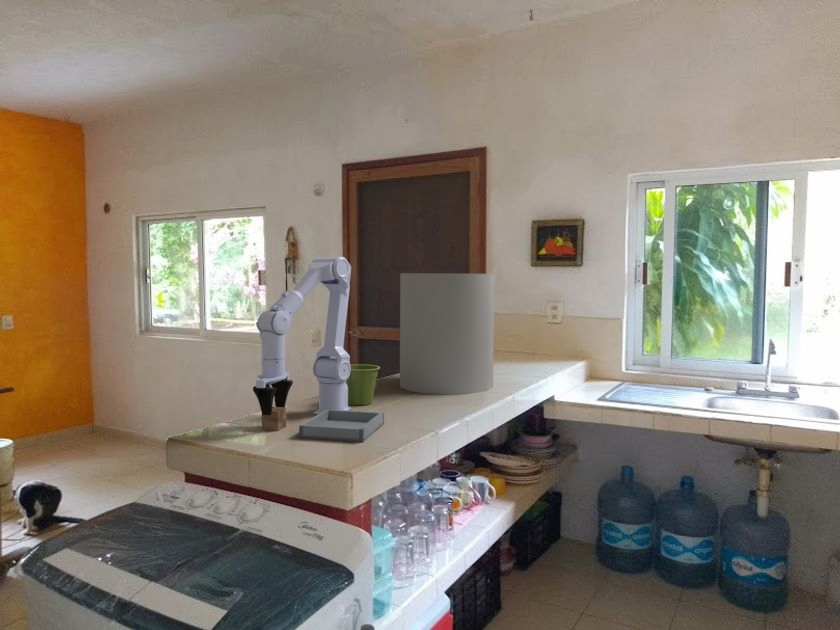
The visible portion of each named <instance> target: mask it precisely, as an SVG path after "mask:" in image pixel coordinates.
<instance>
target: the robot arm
mask: <svg viewBox="0 0 840 630" xmlns="http://www.w3.org/2000/svg"><path fill="white" fill-rule="evenodd" d="M351 272H352V266H351V264H350V263H349V261H348V260H347V258H345V257H344V256H338V257H337V256H336V257H335V256H334V257H325V256H324V257H322V256H317V257H315V258H314V259H312V261H311V262H310V263H309V264H308V269H307V271H306V272H305V273H304V275H303V276H302V277H301V278H300V280H299V281H298V283H297V284H296V286H295V287H294V288H293V289H292V290H291V289H290V290H288V289H287V290H286V291H282V292H281V293H280V297H279V298H278V300H277V301H275V302H274V304H272V305H271V306H270V309H269V310H265V311H262V313H261V314H260V315H259V316H258V318H257V321H256V322H255V324H256V325H255V326H256V329H257V330H258V332H259V338H260V340H261V374H257V379H256V381H255V386H253V387H252V391H253V393H254V394H255V396H256V398H257V401H258V403H259V407H260V410H261V411H260V412H261V416H262V415H271V413H272V407H273V406H274V405H275V406H274V407H283V408H286V404H287V399H288V395H289V392H290V389H291V387H292V386H293V383H294V382H293V380H292V379H290V371H286V333H287V332H289V330H290V327H291V322H292V321H293V317H295V315H296V314H297V313H298V312H299V311H300V309H302V307H303V306H304V299H305V298H306V296H308V294H309V293H310V292H312V290H314V289H315V287H317V285H318V284H319V283H320V284H322V285H323V286H324V287H325V288H326V289H327V290H328V291H329V296H328V297H329V298H328V307H327V316H326V323H325V324H326V326H325V333H324V342H323V347H322V348H320V349H319V350H318V351H317V352H316V358H315V360H314V361H313V365H312V372H313V373H312V374H313V375H314V377H315V378H316V381H317V382H318V409H317V410H316V411H313V414H314V415H318V414H320V413H321V412H323V411H325V410H326V409H330V410H347V411H351V409H352V407H350V406H349V403H348V386H347V384H346V383H345V382H346V381H347V379H348V377H349V375H350V372H351V367H350V365H351V361H350V358H351V356H350V354H349V353H348V352H347V351H346V349H344V343H345V334H346V324H347V315H348V307H349V300H350V299H349V298H350V290H351V289H350V286H351V285H350V283H351V282H350V281H351V275H352V274H351ZM332 357H333V358H332ZM289 379H290V380H289ZM273 403H274V405H273Z"/></svg>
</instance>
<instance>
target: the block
mask: <svg viewBox="0 0 840 630" xmlns="http://www.w3.org/2000/svg"><path fill="white" fill-rule="evenodd" d="M286 427H287V408H286V407H285V408H283V407H276V406H272V413H271V415H262V414H261V431H271V432H272V431H275V432H279V431H281V430H283V429H285V428H286Z"/></svg>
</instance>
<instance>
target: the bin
mask: <svg viewBox="0 0 840 630" xmlns="http://www.w3.org/2000/svg"><path fill="white" fill-rule="evenodd" d="M384 424H385V412H380V411H363V410H362V411H361V410H348V411H347V410H330V409H326V410H325V411H323V412H321V413H320V414H315V416H312V418H310V419H308V420H306V421H303V423H301V424H299V426H298V428H299V429H298V431H299V432H298V437H299V439H310V440H312V439H315V440H328V441H341V442H353V443H354V442H355V443H363V442H365V441H366V440H367V439H369V438H370V437H371V436H372V435H373V434H374V433H376V432H377V431H379V429H380V428H381V427H382V426H383V425H384Z"/></svg>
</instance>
